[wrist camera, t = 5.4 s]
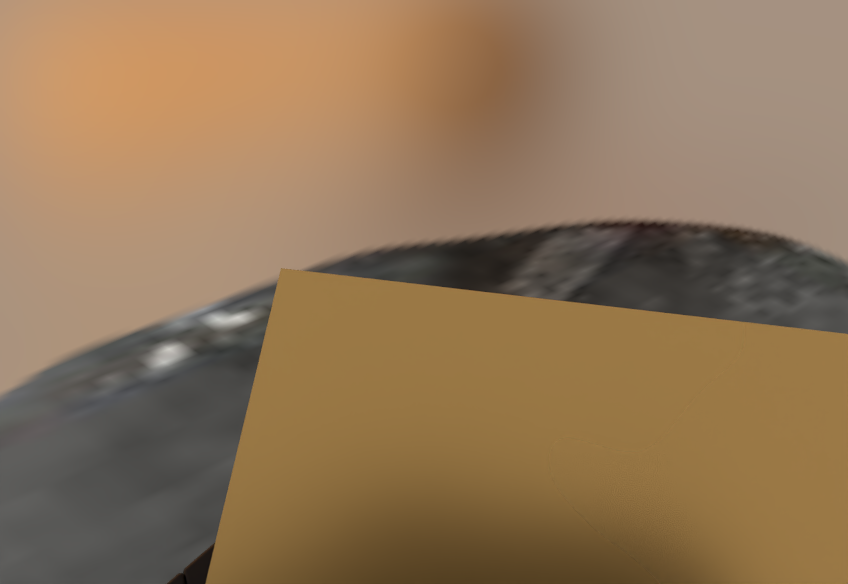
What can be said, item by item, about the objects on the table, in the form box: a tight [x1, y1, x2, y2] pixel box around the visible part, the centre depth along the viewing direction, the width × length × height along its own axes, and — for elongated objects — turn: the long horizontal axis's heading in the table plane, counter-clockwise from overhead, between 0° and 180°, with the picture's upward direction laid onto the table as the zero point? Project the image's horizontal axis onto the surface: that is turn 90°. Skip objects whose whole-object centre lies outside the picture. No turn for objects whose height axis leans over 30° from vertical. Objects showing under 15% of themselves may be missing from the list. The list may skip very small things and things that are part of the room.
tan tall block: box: [205, 268, 848, 584], centre depth 8 cm, size 4×4×13 cm
